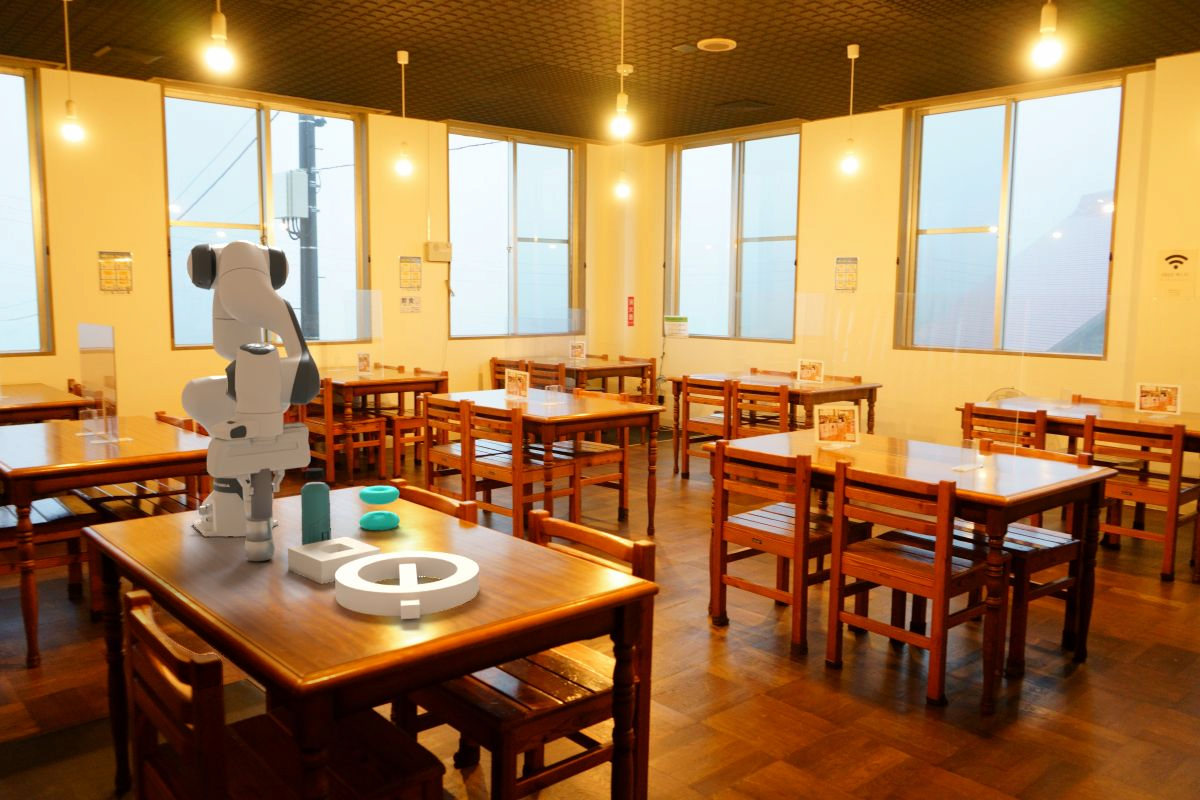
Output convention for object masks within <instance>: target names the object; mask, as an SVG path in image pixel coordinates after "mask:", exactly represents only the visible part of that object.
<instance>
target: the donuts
mask: <svg viewBox="0 0 1200 800" xmlns="http://www.w3.org/2000/svg"><path fill="white" fill-rule="evenodd" d="M358 496H359V499H360V500H361V501H362V502H363V503H365V504H367V505H368V504H369V505H374V506H376V505H377V506H381V505H388V504H391V503H394V502H395V501H397V500H398V498H399V497H400V491H399V489H397V487H395V486H391V485H374V486H373V485H372V486H367V487H364V488H362V489H361V490H360V491H359V494H358ZM400 522H401V521H400V517H399V516H398V515H397V513H394V512H392V511H388V510H376V511H369V512H366V513H365V514H362V516H361V517H360V518H359V526H360V527H361V528H362V529H364V530H367V531H387V530H392V529H394V528H396V527H398V526H399V524H400Z"/></svg>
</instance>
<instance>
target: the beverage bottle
mask: <svg viewBox="0 0 1200 800" xmlns="http://www.w3.org/2000/svg"><path fill="white" fill-rule="evenodd" d="M304 476H305V479H306V480H309V481H310V480H311V482H307V483H305V484H304V485H303V486H302V487H301V488H300V493H301V494H300V497H301V498H300V500H301V501H300V503H301V536H300V537H301V545H306V544H311V543H316V542H321V541H326V540H331V539H332V528H331V498H330V497H331V496H330V489H331V488H330V486H329V485H328V484H326V483H325V482H323V481H322V482H321V481H313V480H323V479H324V478H325V471H324V468H320V467H311V468H307V469H306V470H305V475H304Z"/></svg>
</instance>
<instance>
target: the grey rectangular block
mask: <svg viewBox="0 0 1200 800" xmlns="http://www.w3.org/2000/svg"><path fill="white" fill-rule="evenodd" d="M272 473H273V471H270V469H269V468H268V469H261V470H260V472H259V473H253V474H250V484H251V487H254V491H253V492H254V495H253V496H251V518H253V519H266V518H270V517H272V510H273V505H272V482H273V477H272V476H273V475H272Z"/></svg>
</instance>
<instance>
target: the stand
mask: <svg viewBox="0 0 1200 800" xmlns="http://www.w3.org/2000/svg"><path fill="white" fill-rule="evenodd" d="M379 554H382V550H381V548H380V547H376V546H374V545H371V544H369V543H366V542H363V541H360V540H357V539H354V538H351V537H348V536H342V537H337V538H333V539H332V538H331V540H326V541H321V542H316V543H311V544H306V545H302V544H301V545H297V546H291V547H288V548H287V562H288V563H287V565H288V571H290V570H291V571H290V572H292V571H293V572H292V573H295V574H297V573H298V574H297V575H299V576H301V575H302V577H304V578H306V577H307V578H306V579H308V578H309V580H311V581H313V580H314V581H313V582H315V581H316V582H315V583H318V582H319V583H318V584H320V583H326V584H328V583H327V582H330V583H333V582H332V581H335V573H336V571H337V570H338V569H339V568H340V567H342V566H343V565H345V564H347V563H349V562H352V561H354V560H357V559H361V558H364V557H368V556H373V555H379Z"/></svg>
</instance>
